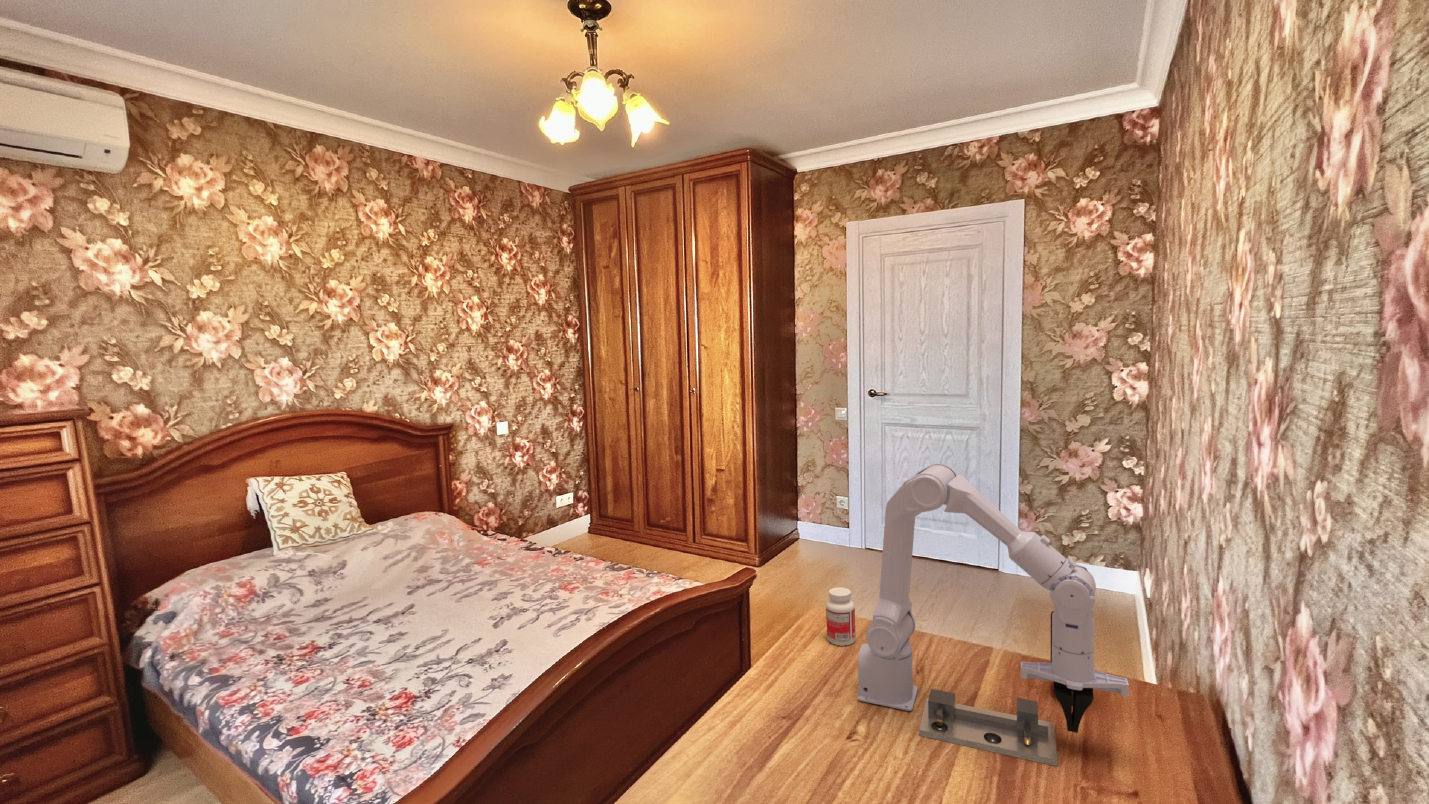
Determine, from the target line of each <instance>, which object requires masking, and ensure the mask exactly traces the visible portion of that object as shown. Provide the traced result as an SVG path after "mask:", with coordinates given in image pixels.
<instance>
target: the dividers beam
mask: <svg viewBox="0 0 1429 804" xmlns="http://www.w3.org/2000/svg"><path fill="white" fill-rule="evenodd" d="M928 698H929V699H928V718H933V719H937V725H939V726H942V721H947V722H952V723H954V719H957V720H962V721H967V722H972V723H976V724H981V725H986V726H991V727H996V728H1001V729H1005V730H1010V731H1015V732H1020V733H1024V731H1025V730H1022V729H1017V720H1012V719H1007V718H1002V717H997V716H992V715H987V714H982V713H977V712H972V711H967V710H962V709H957V708H956V704H957V703H956V692H951V691H945V690H941V689H936V688H935V689H934V688H930V692H929V696H928ZM1031 735H1034V736H1039V737H1044V738H1048V727H1047V726H1042V725H1038V733H1036V732H1032V731H1031Z"/></svg>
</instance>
